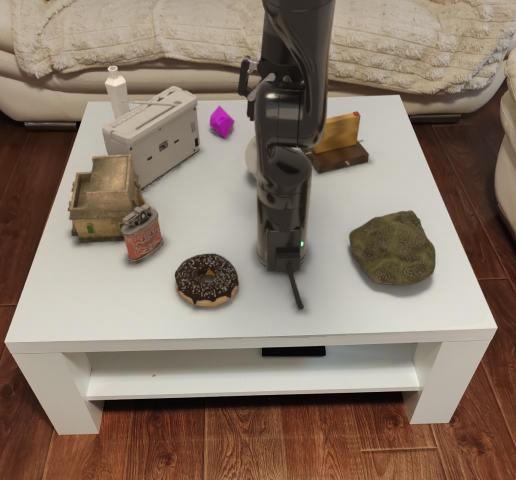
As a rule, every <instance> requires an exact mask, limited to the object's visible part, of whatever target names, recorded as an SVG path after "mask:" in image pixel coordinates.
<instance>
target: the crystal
mask: <svg viewBox="0 0 516 480" xmlns="http://www.w3.org/2000/svg"><path fill="white" fill-rule="evenodd" d="M234 124H235V119H234V118H233V117H231V115H230V114H229V113H228V112H227V111H226V110H225V109H224V108H223V107H222V106H221V105H218V106H217V107H216V109H215V110H214V111H213V112H212V113H211V115H210V118H209V126H210V127H211V128H212V129H213V130H214V131H215V132H217V133H218V134H219V135H220V136H222V137H223V138H224V139H226V138H227V137H228V135H229V133H230V131H231V129H232V127H234Z"/></svg>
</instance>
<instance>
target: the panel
mask: <svg viewBox="0 0 516 480" xmlns="http://www.w3.org/2000/svg"><path fill="white" fill-rule="evenodd" d="M362 142H364V139H360V140H358V139H357V143H356V144H355V145H351V146H347V147H343V148H338V149H334V150H330V151H325V152H321V153H317V154H315V152H314V151H313V147H311V148H300V151H302V153H303V154H304V155H306V156H307V157H308V159H309V160H310V162H311V164H312V168H314V169H315V171H316V172H317V174H323V173H324V174H325V173H328V172H332V171H335V170H340V169H343V168H348V167H351V166H352V167H353V166H356V165H360V164H361V165H362V164H364V163H368V162H369V158H370V154H369V152H368V151H367V150H366V148H365V147H364V146H363V145H362V144H361V143H362Z"/></svg>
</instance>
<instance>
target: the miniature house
mask: <svg viewBox="0 0 516 480" xmlns="http://www.w3.org/2000/svg"><path fill="white" fill-rule="evenodd" d="M91 161H92V167H91V170H90V171H79V172H78V171H77V172H76V173H75V178H74V181H72V188H71V189H70V192H71V193H72V195H71V199H70V200H69V201H68V207H67V212H69V217H68V220H69V221H71V223H72V225H71V231H70V232H71V233H70V234H71V236H74V237H75V236H78V241H79V243H80V244H82V243H100V242H116V241H117V242H119V241H125V239H124V235H123V234H122V231H121V228H122V227H123V226H124V223H123V219H124V218H125V217H126V216H128V215H129V214H131V213H133V211H134V209H135V208H136V207H137V206H138V207H141V206H143V205H144V204H146V203H147V202H146V201H145V199H144V197H143V195H142V192H141V189H142V188H141V185H140V184H139V183H138V179H139V175H136V174H135V170H134V166H133V161H132V156H131V154H125V155H108V154H106V155H93V156H92V157H91ZM140 188H141V189H140Z"/></svg>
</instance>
